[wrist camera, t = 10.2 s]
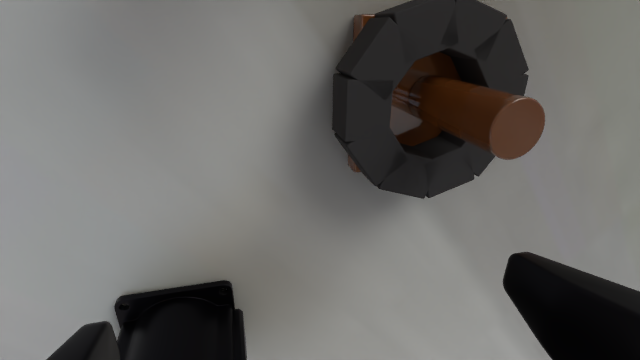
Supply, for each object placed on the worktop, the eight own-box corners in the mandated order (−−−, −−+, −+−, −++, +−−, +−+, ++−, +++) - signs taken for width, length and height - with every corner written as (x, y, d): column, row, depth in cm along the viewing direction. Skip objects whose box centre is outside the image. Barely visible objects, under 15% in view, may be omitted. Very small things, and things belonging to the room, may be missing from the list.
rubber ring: (330, 190, 20) (342, 208, 18) (335, -8, 16) (350, -12, 14) (477, 175, 22) (502, 190, 20) (513, -2, 18) (548, -5, 16)
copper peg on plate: (347, 165, 21) (408, 235, 14) (353, 14, 18) (436, 9, 11) (467, 154, 23) (573, 211, 16) (492, 16, 19) (640, 13, 12)
